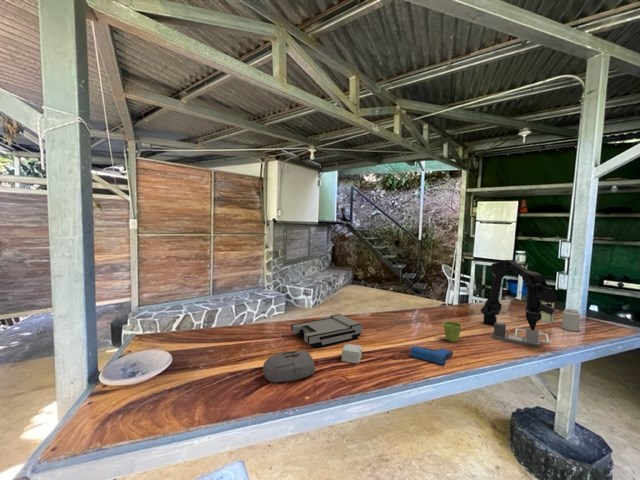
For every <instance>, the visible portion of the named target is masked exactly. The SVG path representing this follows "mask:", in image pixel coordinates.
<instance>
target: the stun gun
mask: <svg viewBox="0 0 640 480" xmlns="http://www.w3.org/2000/svg"><path fill="white" fill-rule="evenodd" d="M453 354H454V352H453V350H449V349H445V348H439V349H437V350H436V349H432V348H427V347H424V346H423V347H422V346H418V345H413V346H411V348H410V357H411V358H415V359H420V360H422V361H426V362H429V363H434V364H437V365H438V364H439V365H442V366H446V364H447V360H448V359H450V358H452V357H453V356H454V355H453Z"/></svg>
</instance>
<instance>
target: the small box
mask: <svg viewBox="0 0 640 480" xmlns="http://www.w3.org/2000/svg"><path fill="white" fill-rule="evenodd" d="M362 349H363V347H362V345H357V344H352V343H345V344H344V346H343V347H342V349H341V361H342V362H346V363H353V364H360V361H361V358H362V354H363V353H362Z"/></svg>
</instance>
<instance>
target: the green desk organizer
mask: <svg viewBox="0 0 640 480" xmlns="http://www.w3.org/2000/svg"><path fill="white" fill-rule="evenodd" d="M541 303H543V304H547V303H549V304H551V307H553V308H554V309H555V302H553V303H550V302H546V301H543V300H541ZM540 313H541V320H538V321H539V322H542V323H554V322H555V320H554V318H555V317H554V316H555V312H554V313H553V315H549V314H548V313H546V312H543V311H541V312H540ZM538 321H537V322H538Z"/></svg>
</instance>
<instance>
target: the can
mask: <svg viewBox="0 0 640 480" xmlns="http://www.w3.org/2000/svg"><path fill="white" fill-rule="evenodd" d="M580 316H581V315H580V313H579V310H575V309H571V308H564V310H563V311H562V323H561V326H562V328H563V330H565V331H569V332H576V333H577V332H579V331H580Z"/></svg>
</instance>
